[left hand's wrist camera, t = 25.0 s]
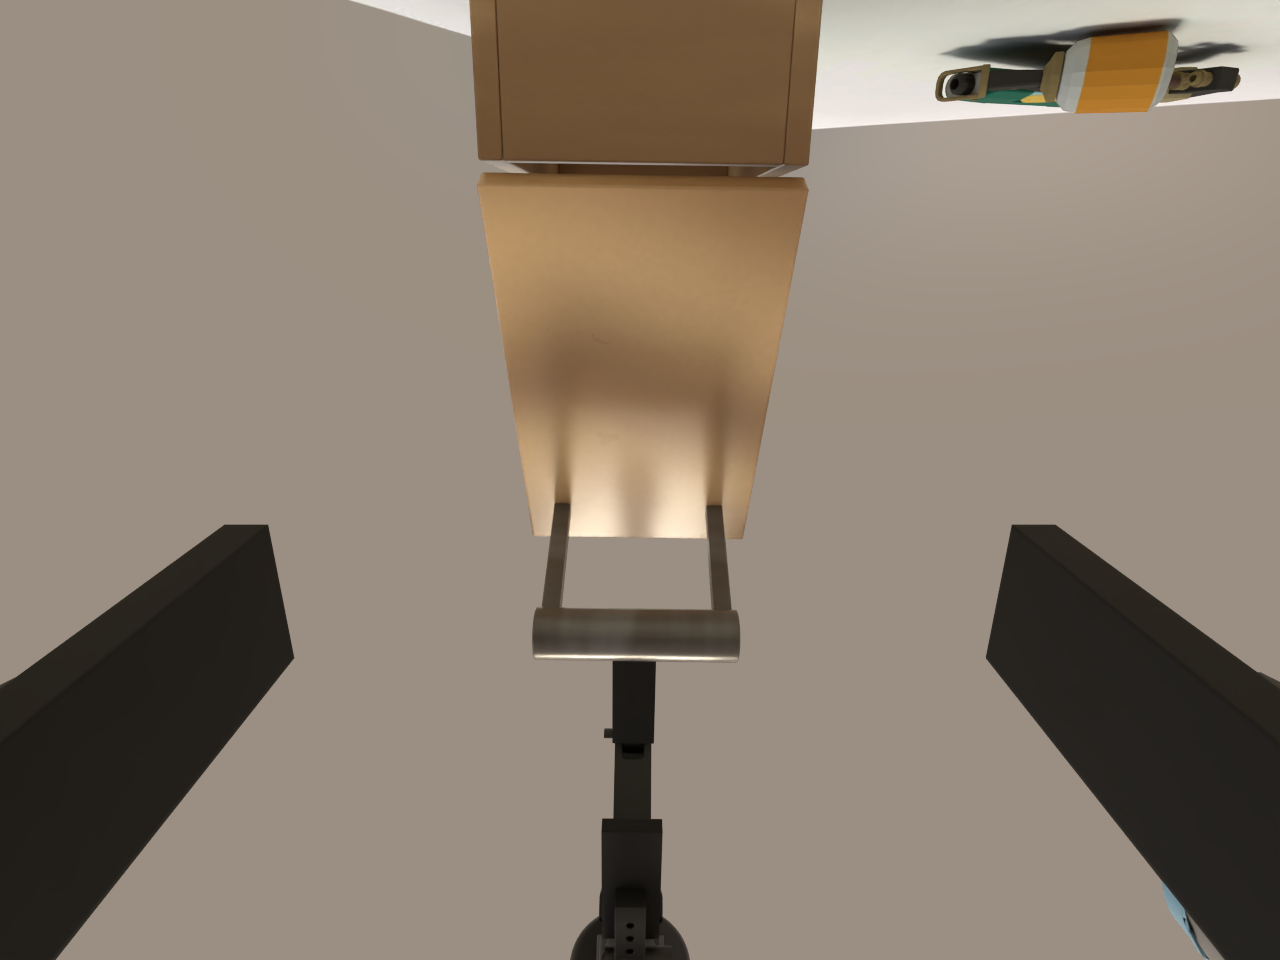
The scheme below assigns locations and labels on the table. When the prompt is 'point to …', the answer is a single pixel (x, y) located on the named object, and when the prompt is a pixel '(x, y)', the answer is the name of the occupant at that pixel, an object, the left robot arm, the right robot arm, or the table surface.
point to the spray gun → (1094, 77)
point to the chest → (645, 85)
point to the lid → (640, 376)
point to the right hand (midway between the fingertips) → (633, 724)
